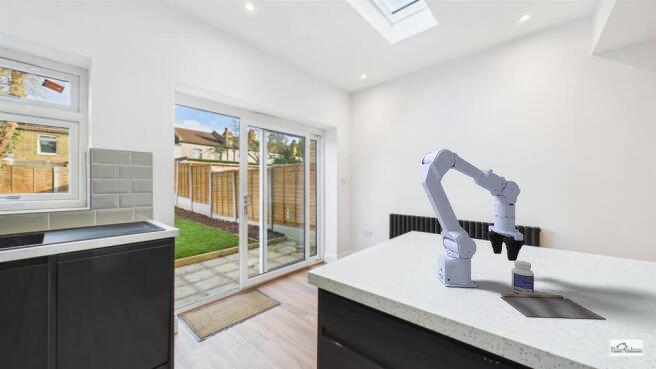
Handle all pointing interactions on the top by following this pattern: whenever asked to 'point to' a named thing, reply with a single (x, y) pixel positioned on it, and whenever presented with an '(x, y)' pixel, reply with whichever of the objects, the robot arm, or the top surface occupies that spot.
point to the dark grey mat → (548, 306)
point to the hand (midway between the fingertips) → (504, 257)
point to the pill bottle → (522, 278)
